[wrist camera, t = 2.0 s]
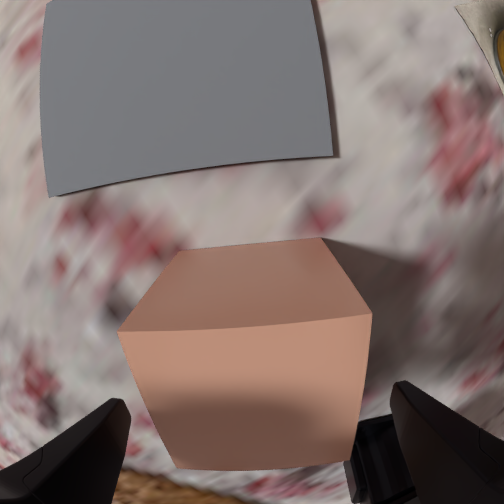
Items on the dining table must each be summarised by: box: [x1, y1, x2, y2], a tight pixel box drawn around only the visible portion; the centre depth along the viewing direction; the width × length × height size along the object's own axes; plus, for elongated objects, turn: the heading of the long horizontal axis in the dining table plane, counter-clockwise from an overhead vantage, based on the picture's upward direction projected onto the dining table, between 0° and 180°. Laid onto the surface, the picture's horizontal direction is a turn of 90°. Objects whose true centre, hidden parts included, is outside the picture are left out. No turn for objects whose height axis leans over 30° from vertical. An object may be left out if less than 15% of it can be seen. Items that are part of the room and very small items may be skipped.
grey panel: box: [40, 0, 333, 198], centre depth 11 cm, size 14×12×1 cm
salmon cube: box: [117, 238, 372, 471], centre depth 12 cm, size 7×7×7 cm
